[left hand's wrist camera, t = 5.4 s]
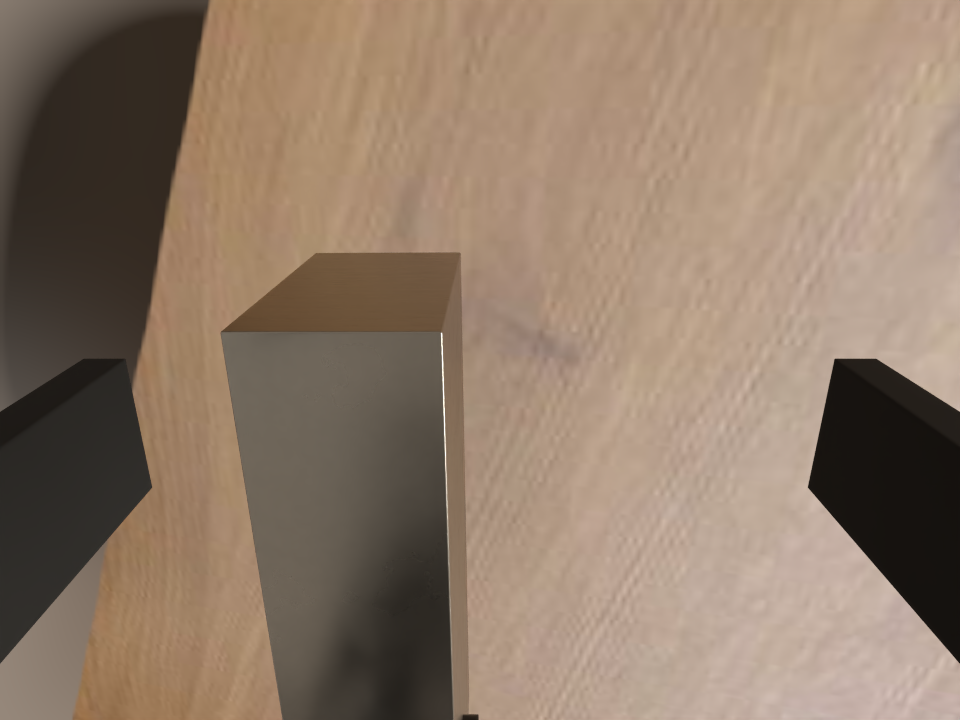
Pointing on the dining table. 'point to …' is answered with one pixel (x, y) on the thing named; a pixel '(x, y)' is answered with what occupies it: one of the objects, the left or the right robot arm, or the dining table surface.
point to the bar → (358, 483)
